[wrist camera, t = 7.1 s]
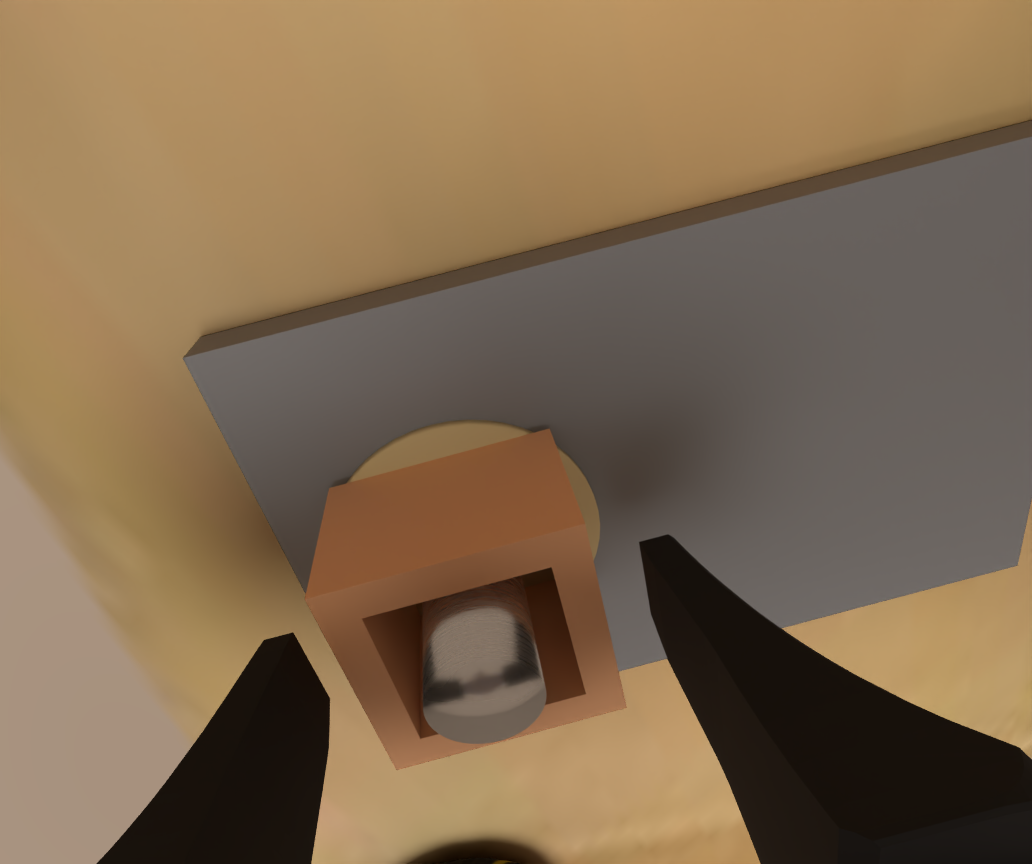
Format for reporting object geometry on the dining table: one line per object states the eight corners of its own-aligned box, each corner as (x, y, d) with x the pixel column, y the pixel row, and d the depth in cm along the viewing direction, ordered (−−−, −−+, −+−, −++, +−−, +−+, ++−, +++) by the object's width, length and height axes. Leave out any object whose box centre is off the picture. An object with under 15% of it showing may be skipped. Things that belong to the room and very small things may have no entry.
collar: (549, 428, 14) (585, 523, 11) (588, 592, 17) (626, 707, 14) (329, 487, 14) (304, 599, 11) (400, 644, 17) (396, 770, 14)
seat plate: (1061, 111, 14) (1127, 116, 13) (985, 540, 20) (1025, 572, 19) (200, 336, 14) (177, 364, 13) (381, 700, 20) (378, 743, 18)
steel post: (524, 504, 17) (571, 693, 12) (466, 556, 18) (486, 758, 12) (462, 456, 16) (483, 639, 11) (403, 513, 17) (396, 712, 11)
